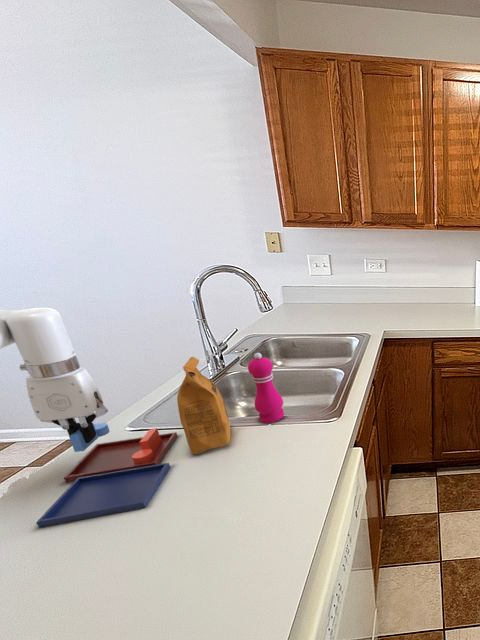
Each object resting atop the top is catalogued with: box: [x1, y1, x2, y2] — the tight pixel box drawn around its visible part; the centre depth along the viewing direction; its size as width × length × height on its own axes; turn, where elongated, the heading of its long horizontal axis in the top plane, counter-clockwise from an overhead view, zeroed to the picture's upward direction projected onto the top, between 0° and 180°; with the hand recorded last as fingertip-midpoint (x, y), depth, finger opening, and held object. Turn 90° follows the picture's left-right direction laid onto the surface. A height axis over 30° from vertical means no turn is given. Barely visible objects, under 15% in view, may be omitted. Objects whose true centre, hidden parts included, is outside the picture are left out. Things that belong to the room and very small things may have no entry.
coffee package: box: [176, 356, 231, 455], centre depth 99 cm, size 10×12×22 cm
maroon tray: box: [63, 431, 179, 484], centre depth 96 cm, size 17×14×1 cm
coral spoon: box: [132, 427, 162, 465], centre depth 97 cm, size 10×4×4 cm, turn 18°
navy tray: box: [36, 462, 171, 529], centre depth 84 cm, size 17×14×1 cm
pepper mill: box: [247, 352, 285, 424], centre depth 110 cm, size 7×7×20 cm
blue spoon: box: [68, 422, 111, 453], centre depth 92 cm, size 10×4×4 cm, turn 18°
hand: (85, 440), depth 91 cm, fingers closed on blue spoon, 1 cm apart
